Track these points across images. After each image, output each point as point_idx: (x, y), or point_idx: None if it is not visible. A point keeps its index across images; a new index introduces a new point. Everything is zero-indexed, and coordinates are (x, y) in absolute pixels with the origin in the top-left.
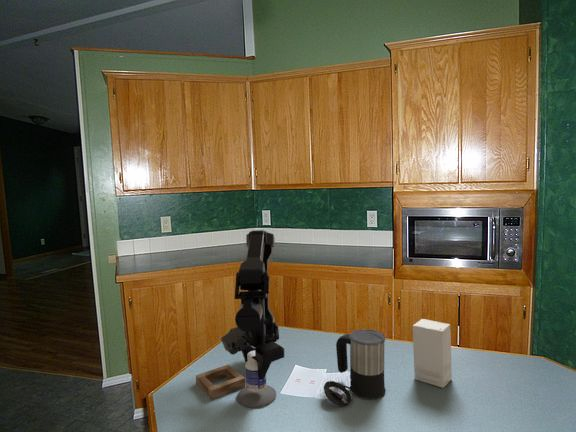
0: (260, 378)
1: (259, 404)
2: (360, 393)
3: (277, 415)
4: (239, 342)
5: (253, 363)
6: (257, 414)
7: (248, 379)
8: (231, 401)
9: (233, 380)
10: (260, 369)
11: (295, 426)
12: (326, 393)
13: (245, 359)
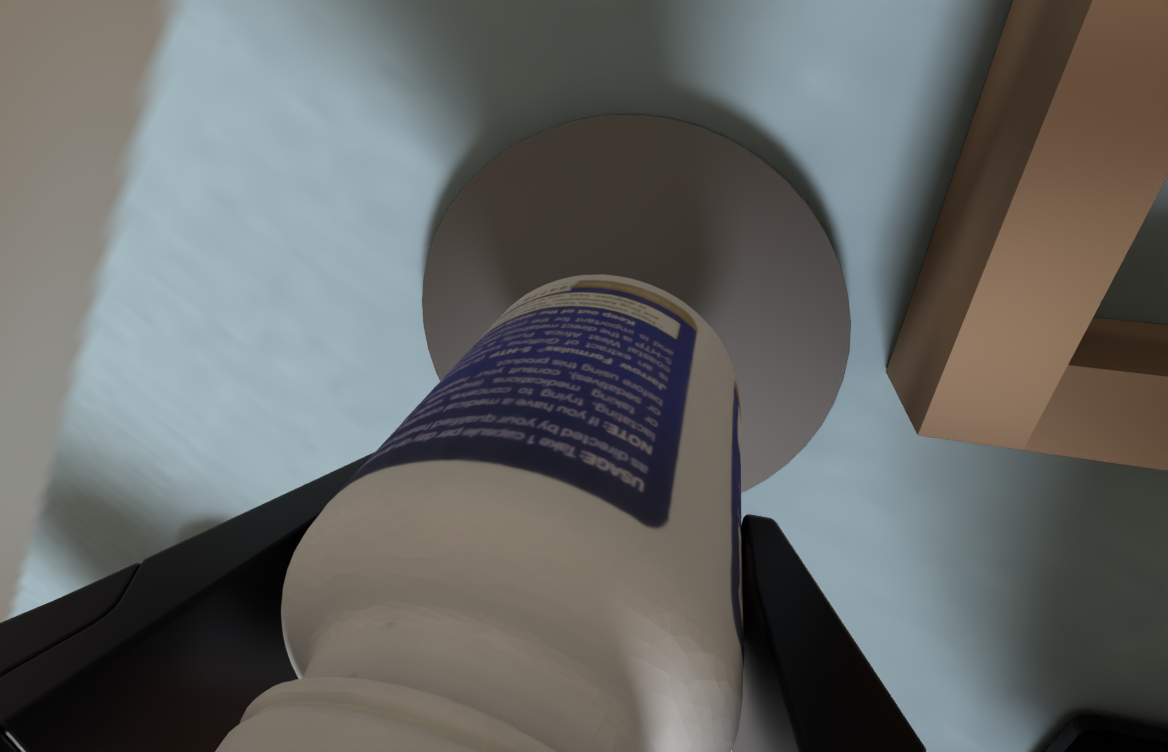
0: (363, 460)
1: (442, 257)
2: None
3: (270, 285)
4: None
5: (322, 664)
6: (354, 156)
7: (520, 342)
8: (764, 47)
9: (1044, 284)
10: (138, 574)
11: (109, 293)
12: None
13: (843, 725)
